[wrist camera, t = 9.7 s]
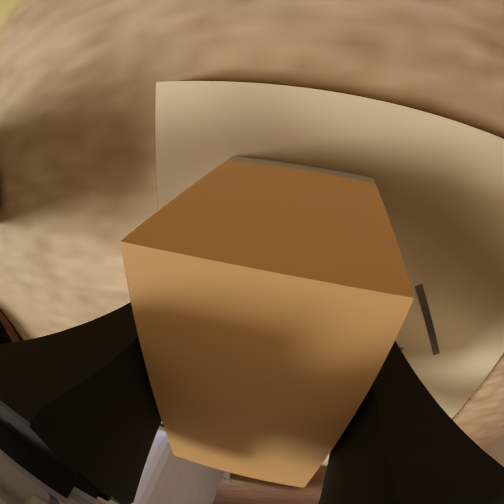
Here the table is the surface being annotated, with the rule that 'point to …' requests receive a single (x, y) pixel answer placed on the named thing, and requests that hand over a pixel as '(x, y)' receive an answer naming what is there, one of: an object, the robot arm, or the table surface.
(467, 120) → the table surface
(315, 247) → the block
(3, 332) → the skull
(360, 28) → the table surface
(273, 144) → the maple board
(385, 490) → the robot arm
